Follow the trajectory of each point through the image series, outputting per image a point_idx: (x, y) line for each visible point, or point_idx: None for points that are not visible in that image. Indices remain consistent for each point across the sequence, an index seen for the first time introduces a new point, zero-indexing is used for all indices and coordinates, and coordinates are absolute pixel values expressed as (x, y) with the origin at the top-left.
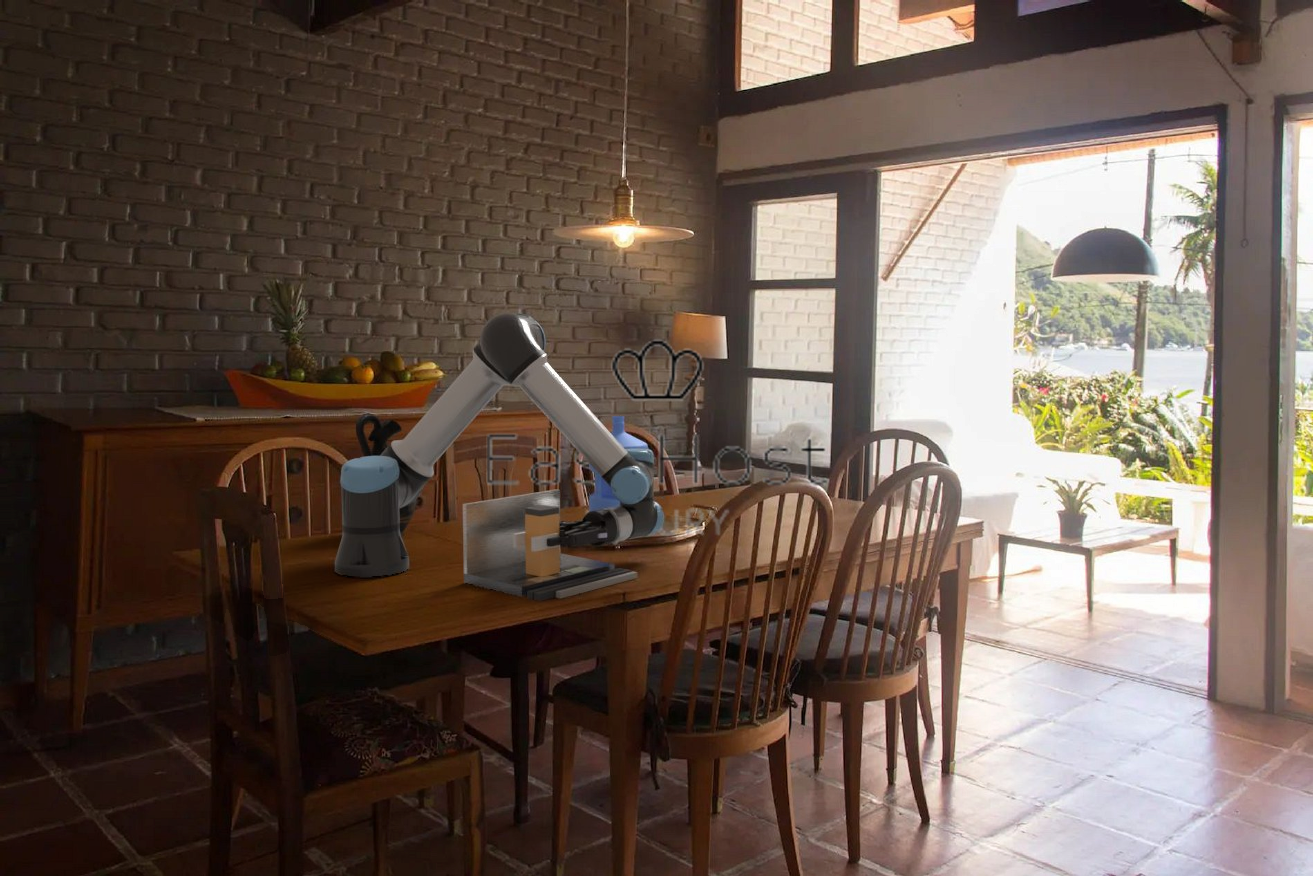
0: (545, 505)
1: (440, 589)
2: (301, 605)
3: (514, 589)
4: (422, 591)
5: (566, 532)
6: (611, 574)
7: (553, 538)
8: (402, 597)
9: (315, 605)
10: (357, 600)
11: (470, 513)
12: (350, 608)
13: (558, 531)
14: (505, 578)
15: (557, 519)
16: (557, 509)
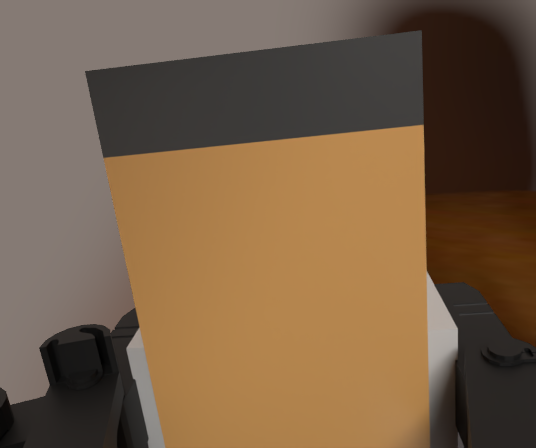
0: (357, 38)
1: (525, 320)
2: (526, 192)
3: None
4: (526, 292)
5: (71, 435)
6: None
7: (132, 329)
8: (482, 260)
9: (512, 199)
10: (511, 225)
11: None
12: (448, 214)
13: (154, 366)
14: None
15: (129, 223)
16: (102, 94)
